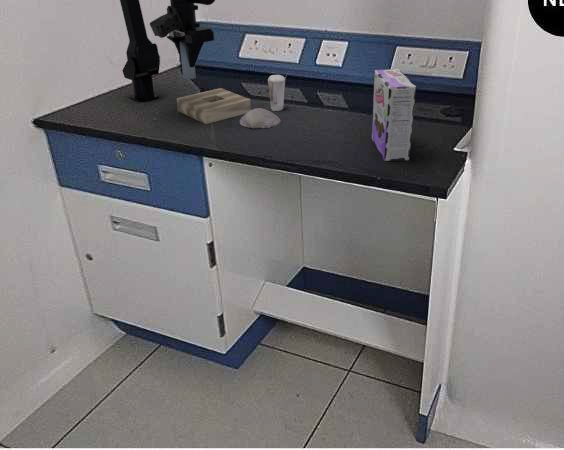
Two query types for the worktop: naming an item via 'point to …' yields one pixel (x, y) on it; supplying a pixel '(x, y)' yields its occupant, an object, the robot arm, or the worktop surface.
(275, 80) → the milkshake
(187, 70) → the dowel
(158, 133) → the worktop surface
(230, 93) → the socket block
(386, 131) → the candy box
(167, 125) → the worktop surface
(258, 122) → the seashell
